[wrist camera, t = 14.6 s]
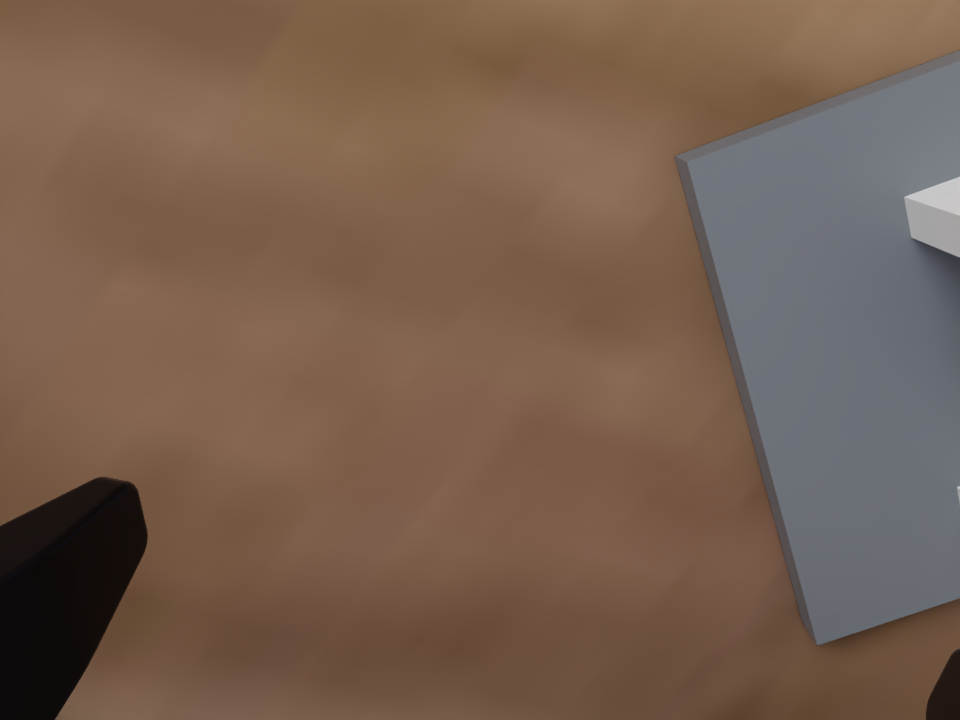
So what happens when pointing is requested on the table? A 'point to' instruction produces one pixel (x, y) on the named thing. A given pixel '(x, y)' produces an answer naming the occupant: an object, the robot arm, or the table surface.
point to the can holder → (847, 335)
